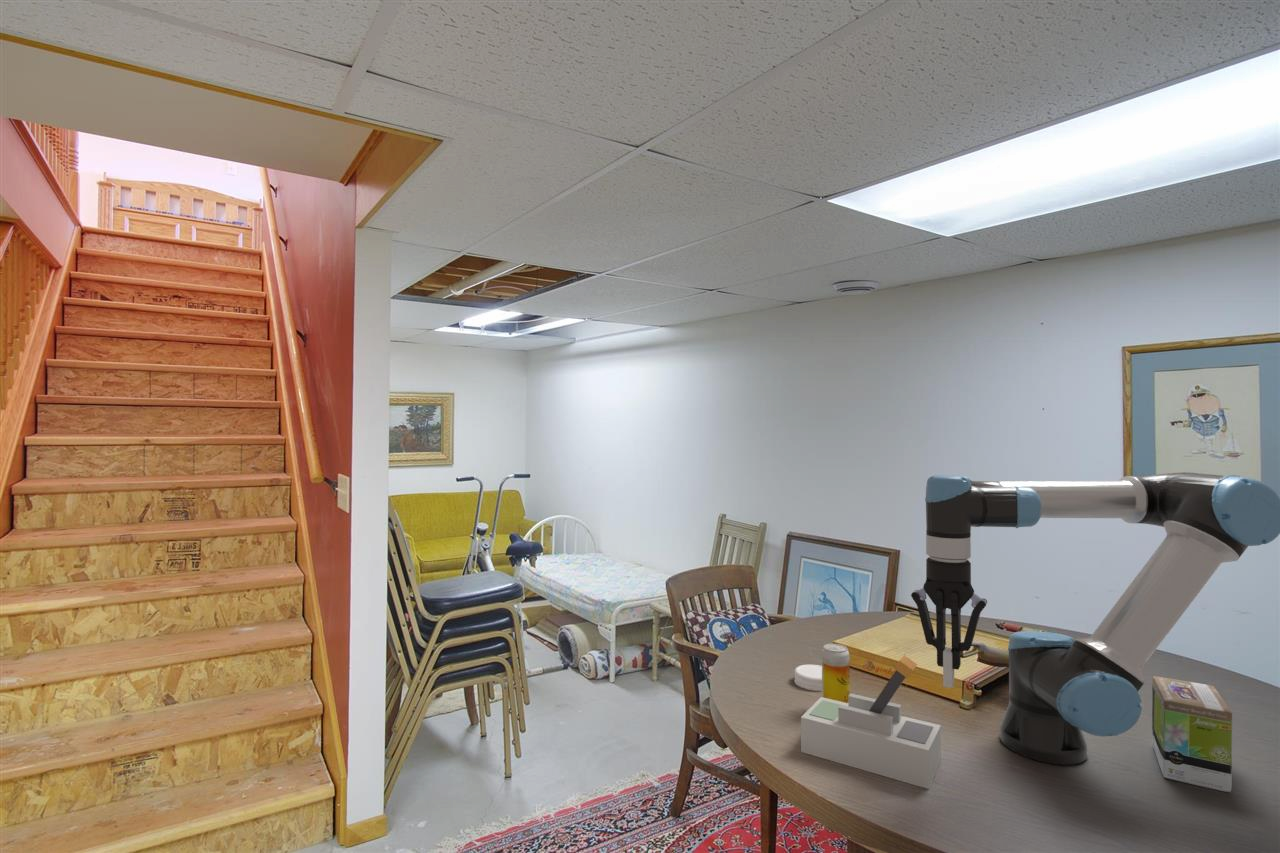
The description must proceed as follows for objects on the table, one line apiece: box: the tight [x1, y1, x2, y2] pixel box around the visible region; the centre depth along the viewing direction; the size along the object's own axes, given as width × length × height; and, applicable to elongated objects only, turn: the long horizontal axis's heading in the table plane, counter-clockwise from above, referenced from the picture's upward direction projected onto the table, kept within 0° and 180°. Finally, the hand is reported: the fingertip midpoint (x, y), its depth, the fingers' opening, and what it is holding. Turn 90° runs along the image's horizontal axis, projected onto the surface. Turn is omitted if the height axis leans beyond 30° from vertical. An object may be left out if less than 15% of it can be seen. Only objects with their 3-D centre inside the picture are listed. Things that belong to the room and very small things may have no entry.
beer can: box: [821, 643, 851, 703], centre depth 148 cm, size 6×6×15 cm
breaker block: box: [800, 693, 942, 790], centre depth 128 cm, size 24×12×10 cm, turn 55°
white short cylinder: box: [794, 664, 822, 692], centre depth 165 cm, size 10×10×4 cm
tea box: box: [1151, 675, 1233, 793], centre depth 124 cm, size 15×10×15 cm
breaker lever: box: [869, 654, 918, 714], centre depth 126 cm, size 3×4×14 cm
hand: (948, 684), depth 120 cm, fingers closed
